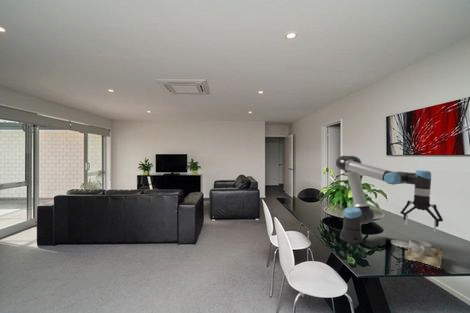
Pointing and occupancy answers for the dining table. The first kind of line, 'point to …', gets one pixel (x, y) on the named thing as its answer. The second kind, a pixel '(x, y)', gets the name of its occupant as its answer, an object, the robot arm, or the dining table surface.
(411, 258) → the rack
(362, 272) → the dining table surface
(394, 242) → the saucer
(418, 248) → the teacup
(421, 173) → the robot arm
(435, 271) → the dining table surface
